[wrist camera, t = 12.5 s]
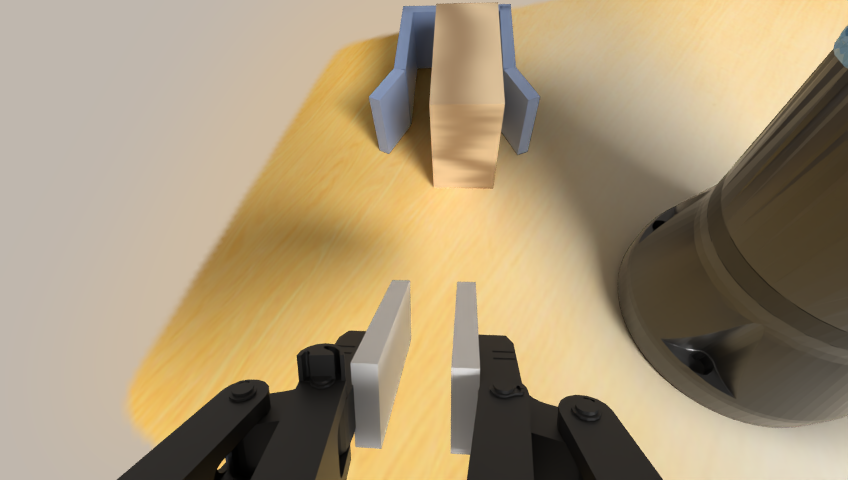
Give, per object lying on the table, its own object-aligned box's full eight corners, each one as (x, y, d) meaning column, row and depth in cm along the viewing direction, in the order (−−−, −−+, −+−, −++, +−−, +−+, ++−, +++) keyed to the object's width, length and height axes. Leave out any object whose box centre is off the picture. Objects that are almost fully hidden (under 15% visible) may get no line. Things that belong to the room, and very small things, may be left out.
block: (489, 93, 41) (497, 2, 34) (492, 189, 35) (504, 104, 27) (438, 94, 42) (436, 3, 34) (433, 188, 35) (429, 104, 28)
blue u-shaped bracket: (519, 61, 43) (528, 3, 38) (527, 155, 37) (540, 100, 32) (393, 62, 44) (386, 6, 39) (379, 153, 38) (368, 100, 33)
